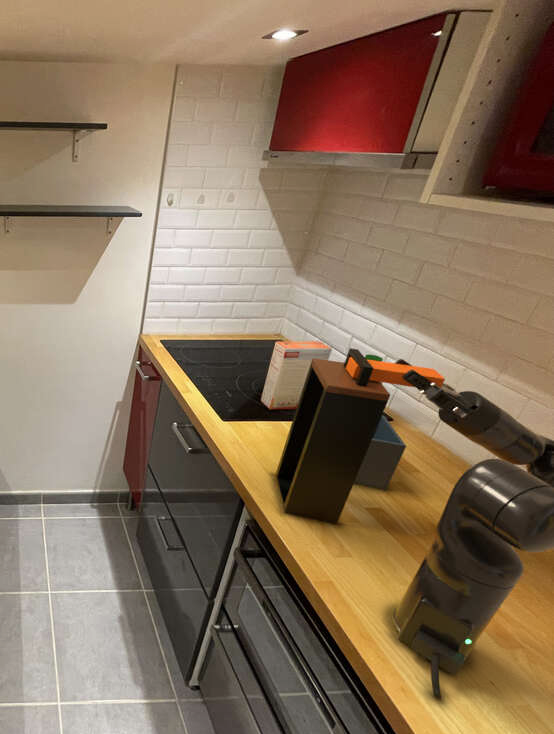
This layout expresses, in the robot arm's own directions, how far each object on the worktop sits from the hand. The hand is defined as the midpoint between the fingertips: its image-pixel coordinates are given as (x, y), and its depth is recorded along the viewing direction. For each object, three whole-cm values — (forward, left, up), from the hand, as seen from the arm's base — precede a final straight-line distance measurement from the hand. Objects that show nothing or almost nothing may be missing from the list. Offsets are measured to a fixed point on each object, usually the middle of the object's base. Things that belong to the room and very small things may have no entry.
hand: (402, 368), depth 85 cm
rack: (-4, +7, -35) cm, 36 cm away
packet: (-1, +1, -3) cm, 3 cm away
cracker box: (+37, +27, -35) cm, 57 cm away
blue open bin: (+17, +5, -35) cm, 39 cm away
